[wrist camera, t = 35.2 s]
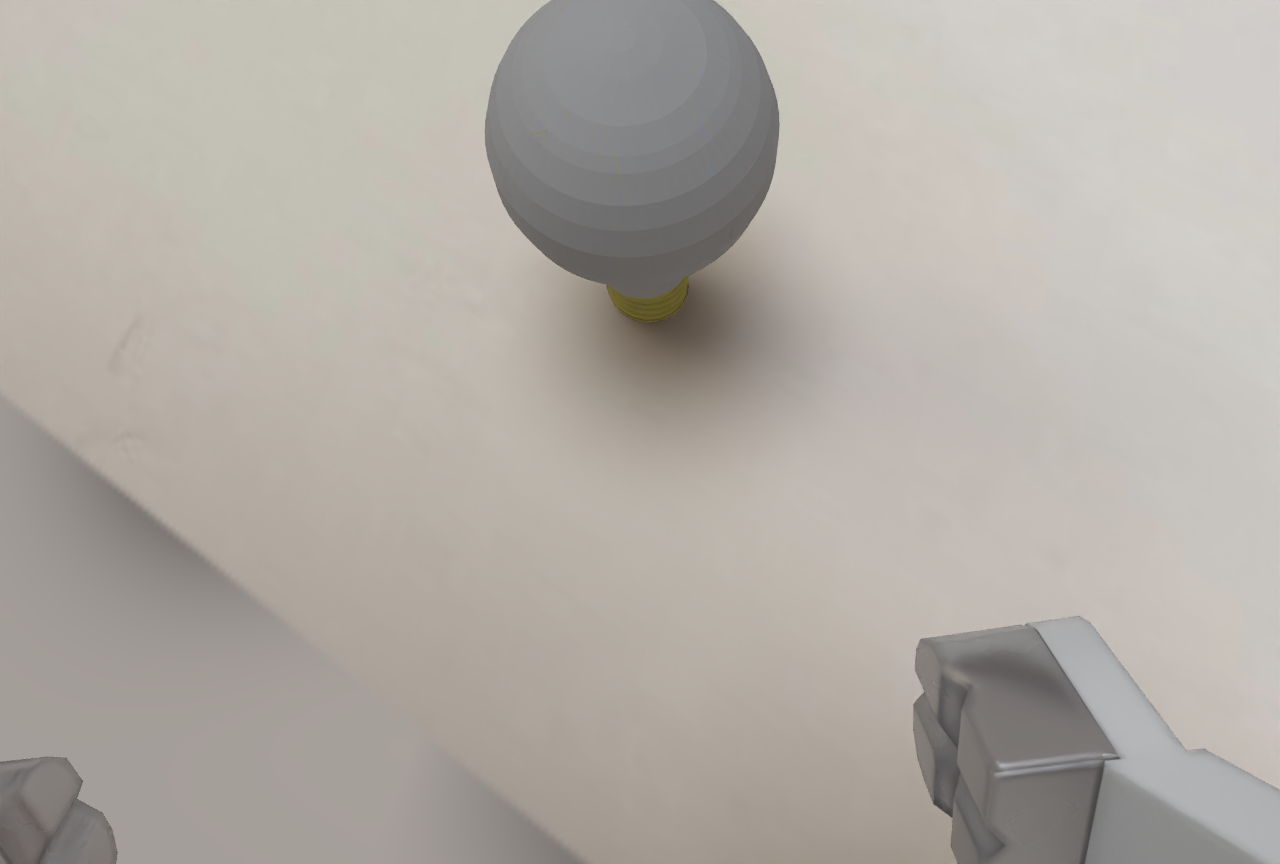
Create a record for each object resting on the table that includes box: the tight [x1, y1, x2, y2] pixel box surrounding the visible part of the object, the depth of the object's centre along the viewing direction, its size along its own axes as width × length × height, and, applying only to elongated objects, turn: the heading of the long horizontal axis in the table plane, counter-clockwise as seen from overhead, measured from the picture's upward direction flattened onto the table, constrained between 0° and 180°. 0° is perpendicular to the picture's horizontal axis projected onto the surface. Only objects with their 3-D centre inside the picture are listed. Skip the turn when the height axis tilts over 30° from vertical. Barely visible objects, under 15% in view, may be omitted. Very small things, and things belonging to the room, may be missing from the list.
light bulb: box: [485, 0, 779, 322], centre depth 19 cm, size 5×6×10 cm
